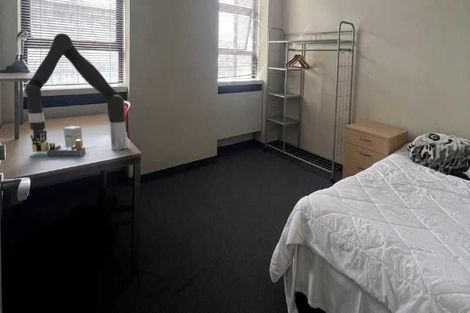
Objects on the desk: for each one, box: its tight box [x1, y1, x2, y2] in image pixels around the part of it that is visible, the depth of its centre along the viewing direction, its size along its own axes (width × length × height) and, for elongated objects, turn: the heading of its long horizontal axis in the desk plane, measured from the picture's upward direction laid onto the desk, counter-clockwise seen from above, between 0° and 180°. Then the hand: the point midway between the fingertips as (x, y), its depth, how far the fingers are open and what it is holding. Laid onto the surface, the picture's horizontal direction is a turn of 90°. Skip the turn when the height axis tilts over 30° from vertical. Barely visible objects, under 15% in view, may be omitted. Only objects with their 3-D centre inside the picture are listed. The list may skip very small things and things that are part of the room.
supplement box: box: [63, 125, 84, 147], centre depth 210 cm, size 7×7×13 cm
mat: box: [29, 151, 49, 158], centre depth 193 cm, size 9×9×1 cm
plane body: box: [46, 138, 86, 158], centre depth 192 cm, size 18×8×9 cm, turn 94°
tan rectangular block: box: [31, 141, 50, 153], centre depth 191 cm, size 7×4×5 cm, turn 94°
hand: (41, 150), depth 192 cm, fingers closed on tan rectangular block, 4 cm apart
